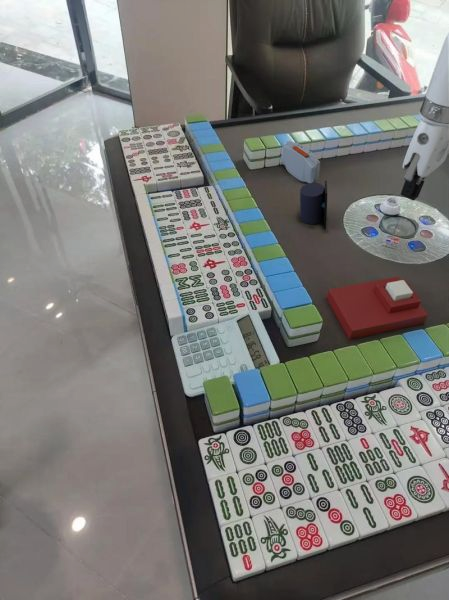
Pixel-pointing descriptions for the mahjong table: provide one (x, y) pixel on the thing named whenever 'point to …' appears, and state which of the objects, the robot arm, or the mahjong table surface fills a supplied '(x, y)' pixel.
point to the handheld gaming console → (300, 162)
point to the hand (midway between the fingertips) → (408, 196)
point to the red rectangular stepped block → (374, 308)
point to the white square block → (398, 290)
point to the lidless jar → (390, 206)
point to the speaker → (313, 203)
